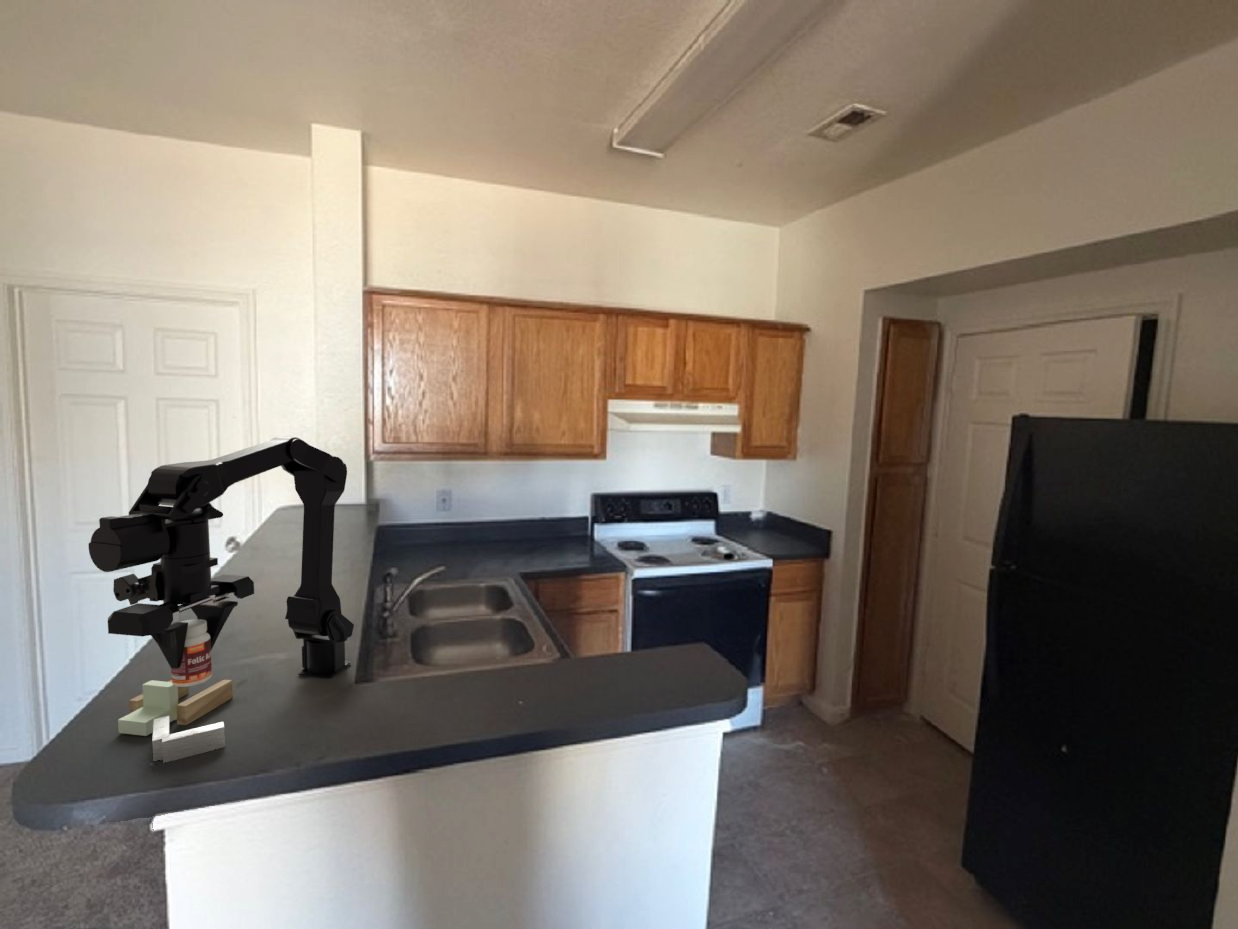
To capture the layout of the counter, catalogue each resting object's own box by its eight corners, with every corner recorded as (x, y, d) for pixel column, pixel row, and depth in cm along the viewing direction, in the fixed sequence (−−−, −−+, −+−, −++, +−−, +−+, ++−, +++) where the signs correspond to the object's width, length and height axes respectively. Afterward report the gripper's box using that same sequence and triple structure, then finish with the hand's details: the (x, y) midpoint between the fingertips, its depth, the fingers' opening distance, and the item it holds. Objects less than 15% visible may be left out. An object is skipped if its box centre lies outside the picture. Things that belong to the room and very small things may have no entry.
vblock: (232, 742, 87) (231, 722, 86) (195, 767, 81) (194, 745, 80) (162, 734, 88) (161, 715, 88) (121, 758, 82) (120, 737, 82)
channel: (232, 697, 100) (232, 680, 100) (186, 725, 91) (185, 706, 91) (180, 692, 101) (180, 675, 101) (130, 719, 92) (129, 700, 92)
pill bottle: (192, 689, 84) (189, 631, 83) (163, 686, 85) (160, 628, 84) (220, 674, 88) (217, 619, 88) (192, 671, 89) (190, 616, 89)
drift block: (179, 717, 93) (177, 682, 92) (146, 736, 87) (144, 699, 87) (153, 714, 93) (151, 680, 93) (118, 732, 88) (116, 696, 88)
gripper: (192, 537, 95) (196, 632, 97) (67, 567, 77) (75, 685, 78) (254, 540, 94) (258, 638, 95) (142, 572, 75) (149, 692, 77)
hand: (191, 660), depth 86 cm, fingers closed on pill bottle, 5 cm apart
